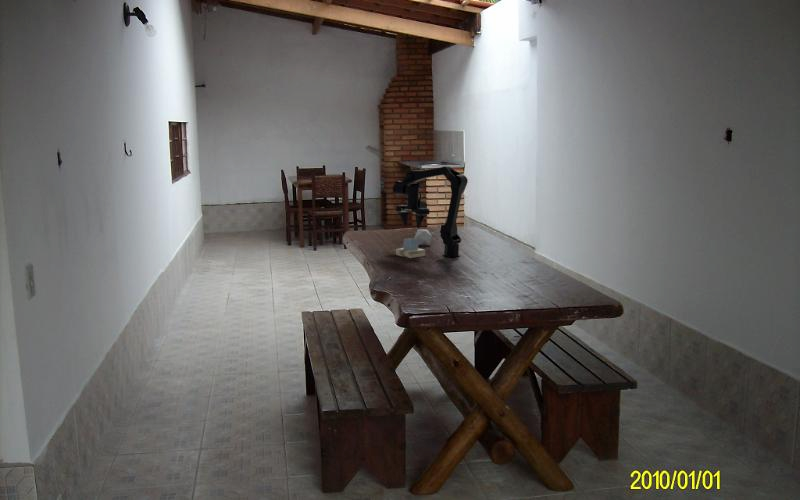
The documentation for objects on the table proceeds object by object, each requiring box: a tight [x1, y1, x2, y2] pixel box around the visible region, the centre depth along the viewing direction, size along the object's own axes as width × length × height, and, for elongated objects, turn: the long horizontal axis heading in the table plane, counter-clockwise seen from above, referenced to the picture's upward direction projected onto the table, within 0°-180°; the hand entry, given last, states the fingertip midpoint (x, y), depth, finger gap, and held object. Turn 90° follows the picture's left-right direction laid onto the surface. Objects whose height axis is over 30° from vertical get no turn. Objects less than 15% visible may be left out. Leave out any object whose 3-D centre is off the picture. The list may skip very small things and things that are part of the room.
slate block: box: [403, 237, 419, 250], centre depth 351 cm, size 5×5×5 cm
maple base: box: [395, 247, 426, 259], centre depth 352 cm, size 10×10×3 cm
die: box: [414, 228, 433, 246], centre depth 383 cm, size 8×9×10 cm
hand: (412, 227), depth 362 cm, fingers open, 9 cm apart
